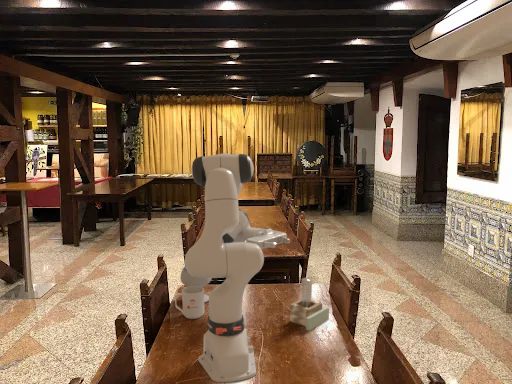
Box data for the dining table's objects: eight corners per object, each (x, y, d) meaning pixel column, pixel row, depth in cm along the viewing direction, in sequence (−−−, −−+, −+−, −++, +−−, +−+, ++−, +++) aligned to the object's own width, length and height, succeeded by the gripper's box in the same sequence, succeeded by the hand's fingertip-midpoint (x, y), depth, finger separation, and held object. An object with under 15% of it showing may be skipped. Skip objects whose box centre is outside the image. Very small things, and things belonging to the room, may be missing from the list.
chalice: (208, 292, 208) (207, 262, 206) (215, 303, 195) (214, 270, 193) (179, 296, 204) (178, 265, 202) (183, 307, 191) (182, 273, 189)
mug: (204, 310, 187) (203, 285, 186) (204, 319, 178) (204, 292, 177) (175, 312, 185) (174, 286, 184) (174, 321, 177) (173, 294, 175)
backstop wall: (305, 330, 167) (305, 317, 167) (325, 318, 178) (325, 306, 177) (309, 331, 166) (309, 318, 166) (328, 319, 177) (329, 307, 176)
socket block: (290, 321, 175) (290, 304, 174) (303, 314, 182) (303, 297, 181) (309, 327, 169) (309, 310, 168) (321, 319, 176) (322, 303, 175)
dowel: (312, 314, 174) (313, 280, 172) (303, 315, 173) (303, 281, 171) (308, 310, 177) (309, 277, 176) (299, 311, 176) (300, 278, 174)
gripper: (240, 235, 180) (265, 240, 171) (271, 227, 196) (296, 231, 187) (240, 250, 181) (265, 256, 172) (271, 241, 197) (296, 246, 187)
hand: (282, 243), depth 180 cm, fingers open, 8 cm apart
